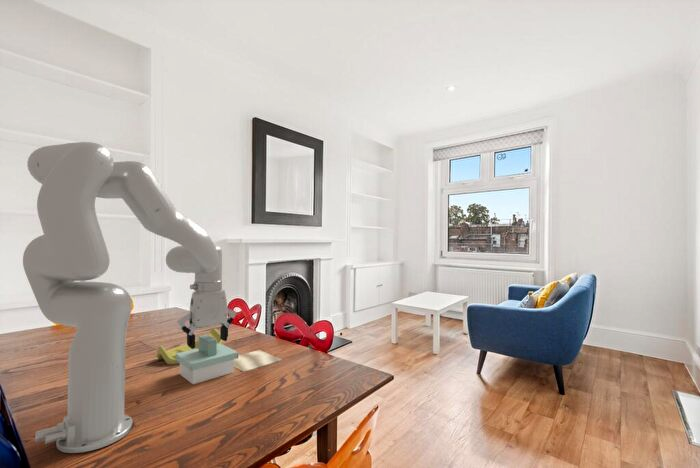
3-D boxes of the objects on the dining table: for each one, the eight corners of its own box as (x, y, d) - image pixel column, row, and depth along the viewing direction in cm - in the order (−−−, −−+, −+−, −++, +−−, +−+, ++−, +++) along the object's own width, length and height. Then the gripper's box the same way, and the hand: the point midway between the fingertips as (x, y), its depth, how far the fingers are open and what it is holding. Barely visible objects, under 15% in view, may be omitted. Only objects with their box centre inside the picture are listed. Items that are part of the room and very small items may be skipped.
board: (243, 374, 102) (243, 371, 102) (222, 362, 111) (222, 359, 111) (282, 362, 112) (282, 359, 112) (259, 352, 121) (259, 349, 121)
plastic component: (171, 361, 106) (158, 342, 111) (168, 379, 108) (154, 360, 113) (228, 341, 122) (213, 325, 127) (223, 357, 124) (209, 341, 129)
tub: (192, 387, 93) (193, 365, 93) (179, 376, 100) (179, 356, 100) (233, 374, 102) (234, 354, 102) (218, 365, 109) (219, 347, 109)
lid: (191, 370, 92) (191, 347, 92) (175, 359, 100) (175, 338, 100) (238, 358, 102) (238, 337, 102) (220, 349, 110) (220, 329, 110)
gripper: (182, 291, 92) (182, 354, 92) (241, 285, 105) (241, 340, 105) (173, 288, 98) (172, 347, 98) (229, 282, 110) (229, 334, 110)
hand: (208, 343), depth 101 cm, fingers open, 9 cm apart
